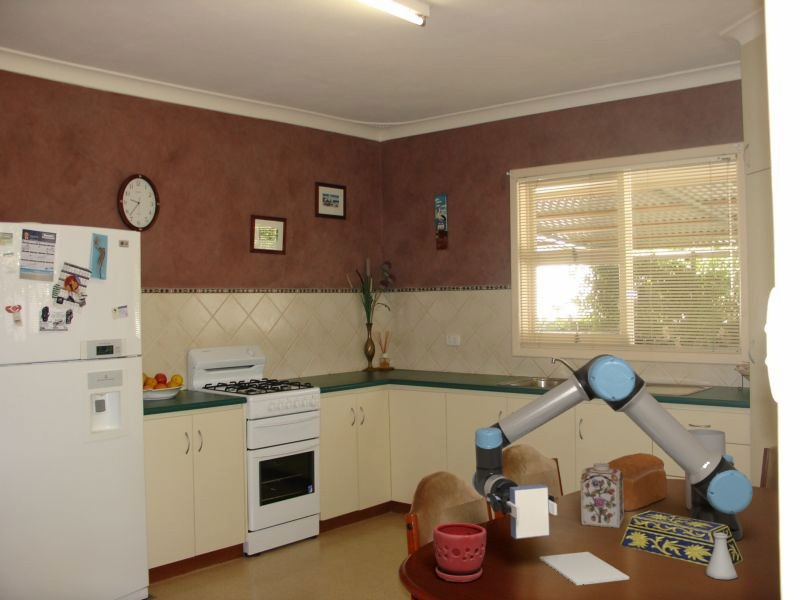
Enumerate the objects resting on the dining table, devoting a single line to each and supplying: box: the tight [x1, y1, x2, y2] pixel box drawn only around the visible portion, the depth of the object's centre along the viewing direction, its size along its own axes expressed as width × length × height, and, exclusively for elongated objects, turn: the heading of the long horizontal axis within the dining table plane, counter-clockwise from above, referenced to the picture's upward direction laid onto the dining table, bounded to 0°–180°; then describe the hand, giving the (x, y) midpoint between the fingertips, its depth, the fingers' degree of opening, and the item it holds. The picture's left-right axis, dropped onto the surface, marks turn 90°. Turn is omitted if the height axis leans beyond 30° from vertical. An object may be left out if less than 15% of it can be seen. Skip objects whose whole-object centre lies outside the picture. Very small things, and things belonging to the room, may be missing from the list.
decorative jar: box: [580, 462, 625, 529], centre depth 240 cm, size 12×12×18 cm
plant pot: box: [432, 522, 487, 583], centre depth 194 cm, size 13×13×12 cm
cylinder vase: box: [684, 428, 727, 511], centre depth 253 cm, size 12×12×25 cm
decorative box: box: [619, 510, 743, 567], centre depth 209 cm, size 11×30×9 cm, turn 42°
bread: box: [607, 452, 668, 512], centre depth 264 cm, size 14×26×16 cm, turn 136°
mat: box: [539, 551, 630, 586], centre depth 197 cm, size 21×14×1 cm, turn 14°
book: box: [509, 484, 551, 540], centre depth 193 cm, size 3×9×12 cm, turn 104°
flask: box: [705, 533, 739, 581], centre depth 190 cm, size 7×7×10 cm
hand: (536, 511), depth 189 cm, fingers closed on book, 9 cm apart
